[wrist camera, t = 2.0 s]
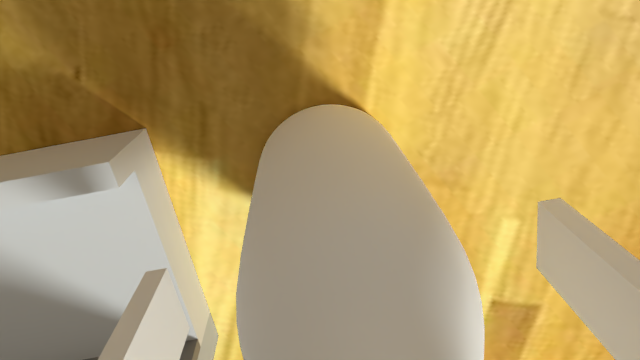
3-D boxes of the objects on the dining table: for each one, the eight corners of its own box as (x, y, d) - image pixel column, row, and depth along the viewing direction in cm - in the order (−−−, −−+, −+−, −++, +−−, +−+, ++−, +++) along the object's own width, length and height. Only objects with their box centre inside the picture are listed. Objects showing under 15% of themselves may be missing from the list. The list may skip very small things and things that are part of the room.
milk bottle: (238, 124, 23) (30, 630, 5) (380, 82, 23) (749, 460, 4) (284, 245, 26) (261, 839, 8) (410, 209, 26) (701, 751, 7)
